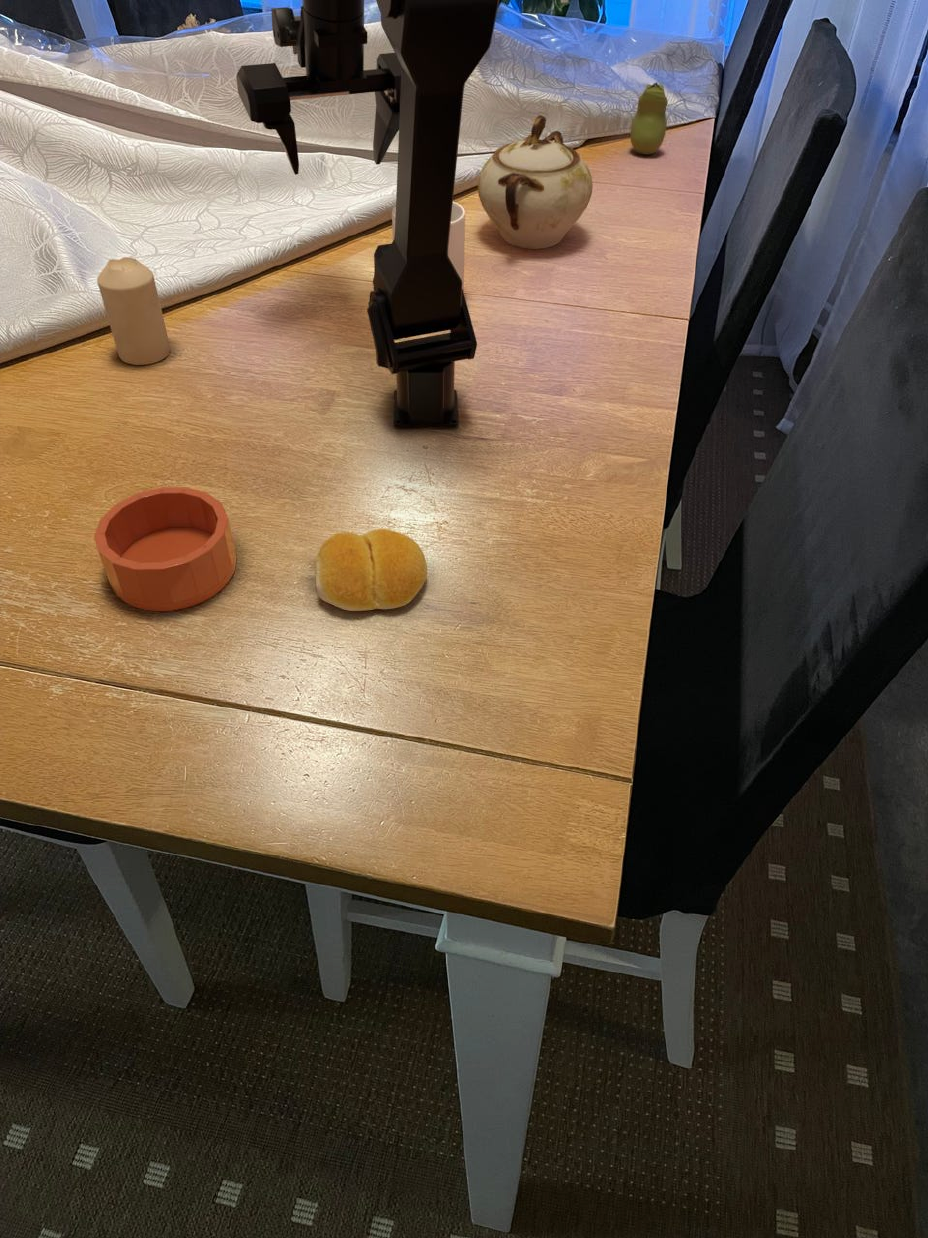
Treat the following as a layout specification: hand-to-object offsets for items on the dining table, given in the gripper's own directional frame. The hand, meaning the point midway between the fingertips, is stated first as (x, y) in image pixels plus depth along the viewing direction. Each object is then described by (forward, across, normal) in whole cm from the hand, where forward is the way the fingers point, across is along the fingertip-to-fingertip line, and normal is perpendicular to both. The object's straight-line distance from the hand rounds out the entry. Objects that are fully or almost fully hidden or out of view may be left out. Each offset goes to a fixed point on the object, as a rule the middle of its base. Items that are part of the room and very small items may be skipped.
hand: (336, 167), depth 96 cm
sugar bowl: (+16, -29, -5) cm, 33 cm away
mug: (+13, -8, +8) cm, 18 cm away
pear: (+22, -61, -28) cm, 70 cm away
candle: (+13, +25, +8) cm, 29 cm away
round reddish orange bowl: (+5, +28, +44) cm, 52 cm away
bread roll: (+4, +13, +51) cm, 53 cm away
